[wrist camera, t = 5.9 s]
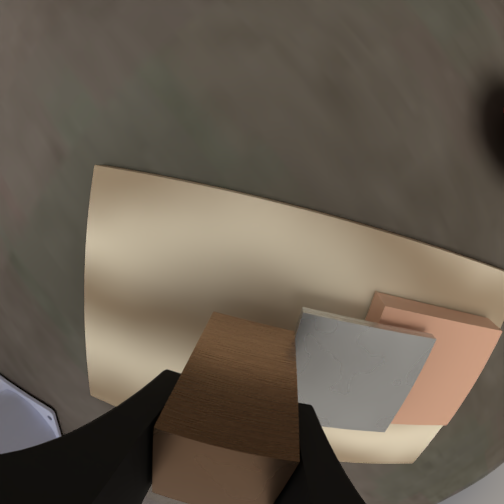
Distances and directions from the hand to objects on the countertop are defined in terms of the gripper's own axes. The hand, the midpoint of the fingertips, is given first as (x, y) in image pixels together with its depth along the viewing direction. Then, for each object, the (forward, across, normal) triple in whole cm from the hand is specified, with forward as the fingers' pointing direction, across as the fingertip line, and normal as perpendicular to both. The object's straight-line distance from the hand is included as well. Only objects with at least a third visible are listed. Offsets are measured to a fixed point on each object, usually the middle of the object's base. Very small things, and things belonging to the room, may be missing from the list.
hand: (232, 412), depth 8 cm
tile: (+5, -5, 0) cm, 7 cm away
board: (+6, -2, +2) cm, 7 cm away
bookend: (+3, -3, 0) cm, 4 cm away
